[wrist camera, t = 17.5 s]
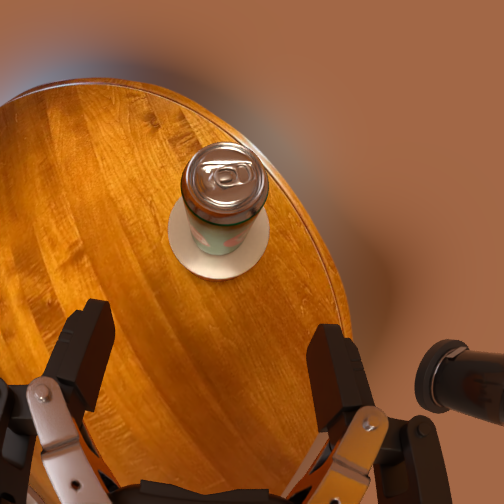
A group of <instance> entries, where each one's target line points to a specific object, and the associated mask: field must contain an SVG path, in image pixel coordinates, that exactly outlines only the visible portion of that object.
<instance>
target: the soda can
mask: <svg viewBox="0 0 504 504" xmlns="http://www.w3.org/2000/svg"><path fill="white" fill-rule="evenodd" d="M268 191H269V181H268V176H267V173H266V171H265V169H264V167H263V164H262V162H261V161H260V159H259V158H258V157H257V155H256V154H255V153H254V152H253V151H251V150H250V149H248V148H247V147H245V146H243V145H241V144H237V143H233V142H217V143H213V144H210V145H208V146H206V147H204V148H202V149H201V150H200V151H198V152H197V153H196V154H195V155H194V156H193V158H192V159H191V160H190V161H189V162H188V164H187V165H186V167H185V169H184V171H183V173H182V177H181V194H182V198H183V202H184V207H185V211H186V215H187V219H188V223H189V227H190V231H191V235H192V238H193V240H194V242H195V243H196V245H197V246H198V247H199V248H200V249H201V250H203V251H204V252H206V253H209V254H212V255H226V254H229V253H231V252H233V251H235V250H236V249H238V248H239V247H240V246H241V244H242V243H243V241H244V239H245V238H246V236H247V234H248V232H249V231H250V229H251V227H252V225H253V223H254V222H255V220H256V218H257V216H258V215H259V213H260V211H261V209H262V207H263V206H264V204H265V202H266V199H267V196H268Z"/></svg>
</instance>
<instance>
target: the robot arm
mask: <svg viewBox="0 0 504 504" xmlns="http://www.w3.org/2000/svg"><path fill="white" fill-rule="evenodd" d="M114 340H115V325H114V321H113V317H112V313H111V308H110V304H109V302H108V301H103V300H97V299H91V298H90V299H89V300H88V301H87V303H86V305H85V307H84V309H83V311H81V310H76V311H75V312H74V313H73V314H72V315H71V316H70V317H68V318H67V320H66V323H65V325H64V327H63V329H62V332H61V333H60V336H59V338H58V341H57V342H56V345H55V347H54V349H53V352H52V354H51V356H50V359H49V361H48V364H47V366H46V369H45V371H44V373H43V375H42V376H41V377H38V378H36V379H34V380H33V381H32V382H31V383H30V384H28V385H7V384H6V383H5V381H4V380H3V379H2V378H0V504H26V501H27V491H28V483H29V475H30V469H31V462H32V456H33V451H34V446H35V441H36V436H37V435H38V437H39V439H40V442H41V445H42V448H43V451H42V452H41V459H42V462H43V465H44V467H45V469H46V472H47V474H48V476H49V479H50V481H51V483H52V485H53V487H54V489H55V491H56V494H57V496H58V498H59V500H60V501H61V503H62V504H360V502H361V500H362V498H363V496H364V494H365V492H366V491H367V489H368V487H369V484H370V477H369V476H368V474H369V471H370V469H371V467H372V465H373V467H374V475H375V482H376V489H377V498H378V504H452V498H451V493H450V487H449V482H448V477H447V472H446V468H445V464H444V459H443V455H442V451H441V447H440V443H439V439H438V435H437V431H436V428H435V425H434V423H433V422H432V421H431V420H430V419H429V418H427V417H426V416H422V415H418V416H415V417H413V418H412V419H411V420H409V421H404V420H398V419H394V418H389V417H387V416H386V414H385V413H384V412H383V411H382V410H381V409H379V408H377V407H376V406H375V404H374V401H373V398H372V394H371V391H370V387H369V384H368V381H367V378H366V374H365V371H364V368H363V364H362V362H361V358H360V354H359V352H358V348H357V347H356V346H355V344H354V343H353V342H352V340H351V339H350V338H344V337H343V334H342V330H341V327H340V326H339V325H338V324H319V325H318V327H317V329H316V331H315V333H314V335H313V337H312V339H311V342H310V344H309V346H308V348H307V353H306V361H307V367H308V373H309V378H310V384H311V390H312V396H313V401H314V407H315V413H316V419H317V425H318V432H319V433H320V432H328V435H329V439H328V440H327V442H326V443H325V445H324V446H323V448H322V450H321V451H320V453H319V454H318V456H317V458H316V459H315V461H314V462H313V464H312V465H311V467H310V468H309V470H308V471H307V473H306V474H305V476H304V477H303V478H302V479H301V480H300V481H299V482H298V483H297V484H296V485H295V487H294V488H293V489H292V491H291V492H290V493H289V495H288V496H287V497H286V499H285V498H282V497H280V496H277V495H274V494H269V489H236V490H231V491H226V492H221V493H215V494H209V495H203V494H199V493H196V492H192V491H189V490H186V489H183V488H181V487H178V486H175V485H172V484H165V483H159V482H152V481H147V480H141V483H140V484H133V485H128V486H124V487H121V486H120V485H119V483H118V482H117V480H116V478H115V477H114V475H113V473H112V472H111V470H110V469H109V467H108V466H107V465H106V463H105V462H104V460H103V459H102V457H101V455H100V453H99V451H98V449H97V447H96V445H95V443H94V441H93V439H92V437H91V435H90V433H89V431H88V429H87V427H86V424H85V422H84V420H83V416H84V412H85V410H86V411H90V412H94V410H95V406H96V402H97V398H98V394H99V391H100V387H101V383H102V380H103V376H104V373H105V370H106V366H107V363H108V360H109V356H110V353H111V350H112V347H113V344H114ZM466 348H467V347H460V348H453V349H450V350H448V351H447V352H445V353H444V354H443V355H442V356H441V357H440V358H439V360H438V361H437V363H436V365H435V367H434V369H433V371H432V374H431V378H430V383H429V392H430V397H431V399H432V401H433V402H434V403H435V404H436V405H438V406H441V407H445V408H448V409H451V410H454V411H457V412H460V413H463V414H465V415H469V416H472V417H475V418H478V419H481V420H484V421H487V422H491V423H494V424H498V425H501V426H504V354H500V353H488V352H479V351H470V350H465V349H466Z"/></svg>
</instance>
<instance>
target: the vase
mask: <svg viewBox="0 0 504 504" xmlns="http://www.w3.org/2000/svg"><path fill="white" fill-rule="evenodd" d="M26 504H45V503H44V501H43V500H42V499H41V498H40V497H39V496H38V495H37V493H36V492H35V491H34V490H33V489H32V488H31V487H30V486H29V485H28V491H27V501H26Z"/></svg>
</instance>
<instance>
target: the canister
mask: <svg viewBox="0 0 504 504" xmlns="http://www.w3.org/2000/svg"><path fill="white" fill-rule="evenodd" d="M168 237H169V242H170V245H171V248H172V250H173V252H174V254H175V256H176V257H177V259H178V260H179V261H180V262H181V264H182V265H183V266H184V267H186V268H187V269H188V270H189V271H190V272H191V273H192V274H194V275H195V276H196V277H198V278H200V279H203V280H206V281H210V282H224V281H228V280H231V279H233V278H235V277H237V276H239V275H241V274H243V273H245V272H246V271H248V270H249V269H250V268H252V267H253V266H254V265H255V264H256V263H257V262H258V261H259V259H260V258H261V256H262V255H263V253H264V251H265V249H266V246H267V243H268V239H269V221H268V216H267V214H266V211H265V209H264V207H262V209H261V211H260V213H259V215H258V216H257V218H256V220H255V222H254V223H253V225H252V227H251V229H250V231H249V232H248V234H247V236H246V238H245V239H244V241H243V243H242V244H241V246H240V247H239V248H238V249H236V250H235V251H233V252H231V253H229V254H226V255H212V254H209V253H206V252H204V251H203V250H201V249H200V248H199V247H198V246H197V245H196V243H195V242H194V240H193V238H192V235H191V231H190V227H189V223H188V219H187V215H186V211H185V207H184V202H183V198H182V196H181V197H180V198H179V199H178V201H177V202H176V204H175V205H174V207H173V209H172V211H171V214H170V217H169V222H168Z"/></svg>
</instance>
